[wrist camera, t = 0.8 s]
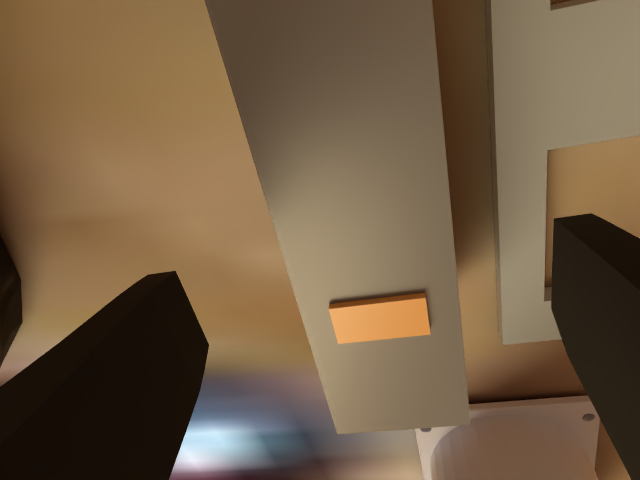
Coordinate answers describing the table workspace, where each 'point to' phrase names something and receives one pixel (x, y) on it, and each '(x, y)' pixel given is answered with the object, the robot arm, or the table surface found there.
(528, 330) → the keyhole board
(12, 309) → the black tall lumpy piece
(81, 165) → the table surface
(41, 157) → the table surface
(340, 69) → the brown notched block
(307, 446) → the table surface
